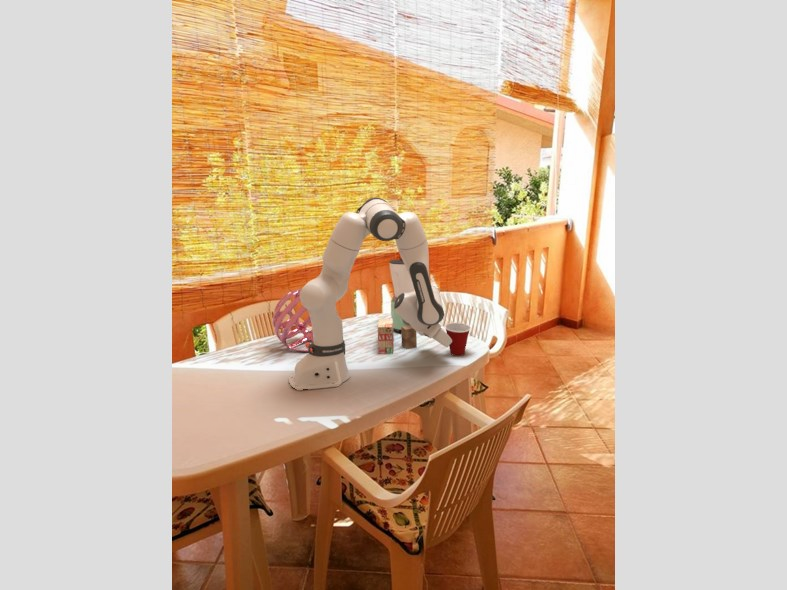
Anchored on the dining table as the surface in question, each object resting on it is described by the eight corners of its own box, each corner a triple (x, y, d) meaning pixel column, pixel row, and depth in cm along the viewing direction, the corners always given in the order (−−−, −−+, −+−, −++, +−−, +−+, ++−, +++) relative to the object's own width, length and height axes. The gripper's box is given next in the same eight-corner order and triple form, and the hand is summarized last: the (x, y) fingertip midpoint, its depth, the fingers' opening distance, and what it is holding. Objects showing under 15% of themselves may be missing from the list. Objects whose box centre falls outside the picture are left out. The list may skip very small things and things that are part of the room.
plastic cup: (458, 360, 197) (458, 331, 194) (439, 353, 205) (439, 326, 202) (476, 353, 204) (476, 326, 201) (457, 347, 212) (457, 320, 209)
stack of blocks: (380, 338, 228) (379, 313, 225) (393, 338, 228) (392, 312, 225) (378, 354, 207) (377, 326, 204) (393, 354, 207) (392, 326, 204)
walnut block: (406, 349, 212) (405, 329, 210) (401, 345, 216) (401, 326, 214) (416, 347, 213) (416, 327, 211) (412, 344, 218) (411, 324, 216)
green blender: (424, 332, 233) (423, 260, 225) (398, 336, 229) (395, 262, 221) (409, 322, 251) (408, 254, 243) (385, 325, 247) (382, 257, 238)
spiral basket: (356, 304, 211) (312, 266, 219) (309, 336, 192) (263, 293, 200) (342, 343, 230) (302, 307, 238) (298, 375, 212) (256, 334, 219)
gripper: (410, 323, 205) (431, 342, 211) (430, 337, 187) (453, 357, 192) (419, 312, 206) (440, 331, 211) (441, 324, 187) (463, 345, 193)
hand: (446, 344), depth 202 cm, fingers closed, pressing on plastic cup
